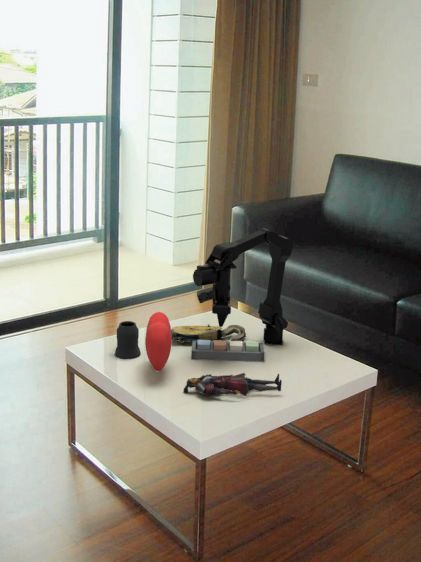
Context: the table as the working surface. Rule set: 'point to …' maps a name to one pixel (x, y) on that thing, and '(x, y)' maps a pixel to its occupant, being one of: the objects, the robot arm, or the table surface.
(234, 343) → the key cream
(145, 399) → the table surface
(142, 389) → the table surface
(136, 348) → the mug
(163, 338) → the heart
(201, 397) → the table surface
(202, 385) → the figurine
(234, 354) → the gray cubby shelf
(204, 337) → the pulley block
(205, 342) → the key blue
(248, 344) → the key sage
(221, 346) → the key terracotta
